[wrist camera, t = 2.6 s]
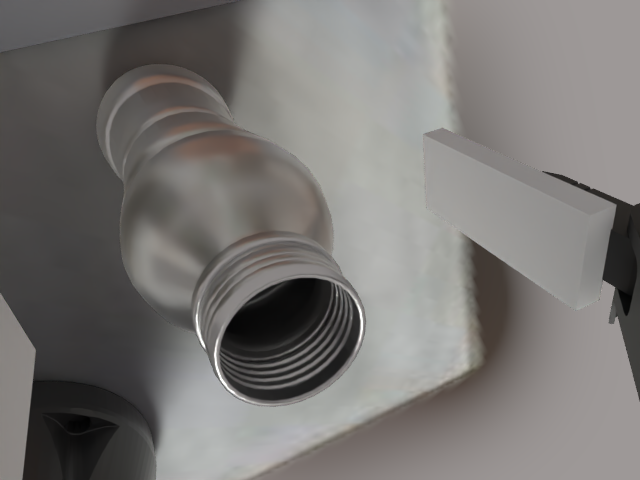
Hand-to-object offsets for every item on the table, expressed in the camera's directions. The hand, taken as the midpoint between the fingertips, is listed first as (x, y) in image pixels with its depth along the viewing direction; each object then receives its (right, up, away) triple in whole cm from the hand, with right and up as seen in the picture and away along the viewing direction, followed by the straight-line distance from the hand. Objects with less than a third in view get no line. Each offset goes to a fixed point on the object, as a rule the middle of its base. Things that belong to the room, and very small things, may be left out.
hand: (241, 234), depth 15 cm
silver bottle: (-6, +6, +12) cm, 15 cm away
